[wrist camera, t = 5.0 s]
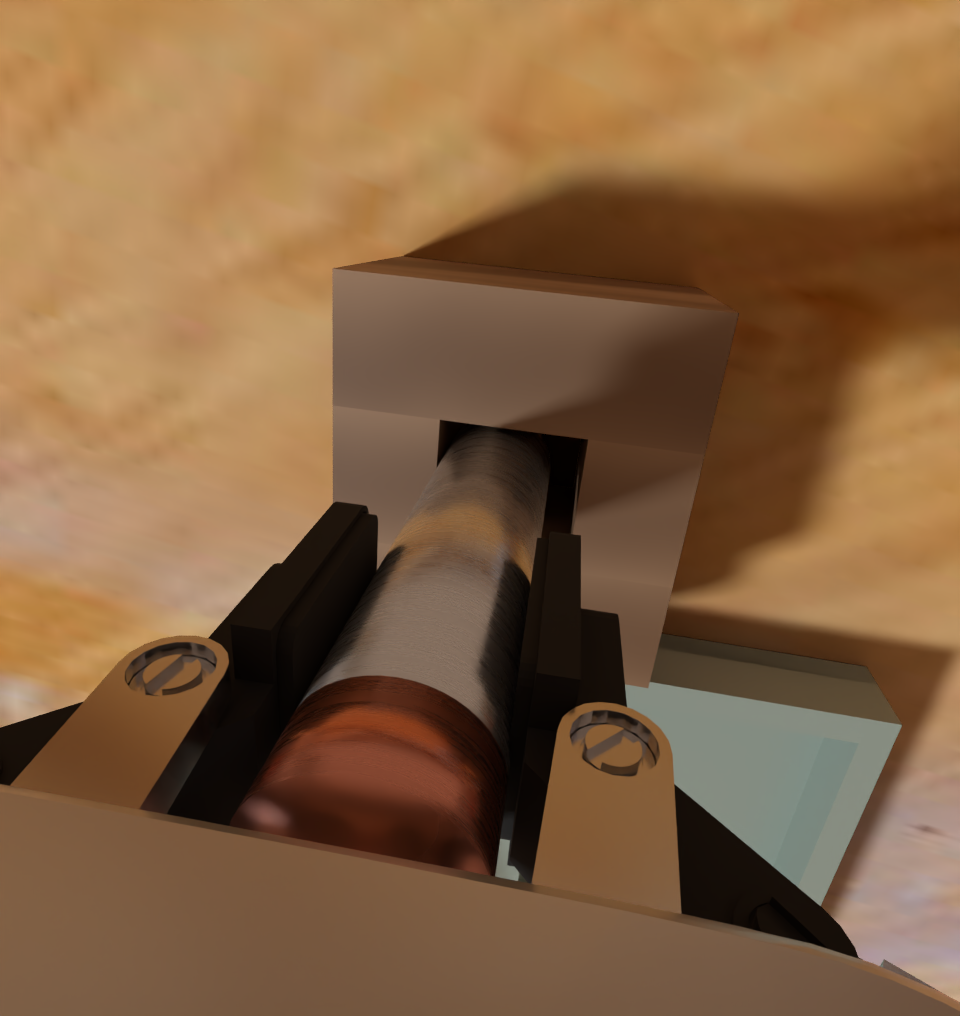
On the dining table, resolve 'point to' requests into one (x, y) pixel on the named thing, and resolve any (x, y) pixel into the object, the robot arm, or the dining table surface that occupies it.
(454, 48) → the dining table surface
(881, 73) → the dining table surface
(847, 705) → the tray
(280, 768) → the lock pin
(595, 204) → the dining table surface
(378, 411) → the block
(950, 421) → the dining table surface
